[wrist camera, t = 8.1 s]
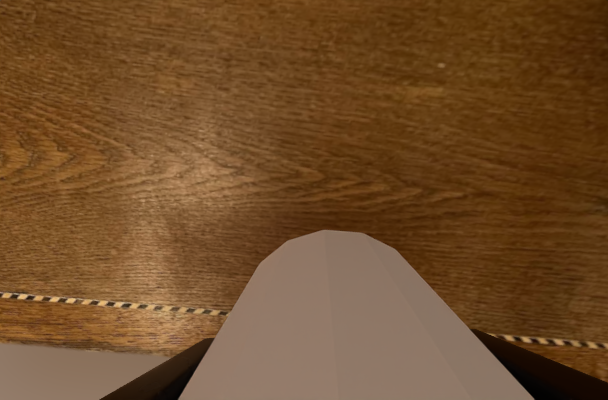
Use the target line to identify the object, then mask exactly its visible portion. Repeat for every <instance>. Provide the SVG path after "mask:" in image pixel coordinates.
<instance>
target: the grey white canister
mask: <svg viewBox="0 0 608 400" xmlns="http://www.w3.org/2000/svg"><path fill="white" fill-rule="evenodd" d="M178 400H535V399H534V398H533V397H532V396H531V395H530V394H529V393H528V392H527V391H526V390H525V389H524V387H523V386H522V385H521V384H520V383H519V382H518V381H517V380H516V379H515V378H514V377H513V376H512V375H511V373H510V372H509V371H508V370H507V369H506V368H505V367H504V366H503V365H502V364H501V363H500V362H499V360H498V359H497V358H496V357H495V356H494V355H493V354H492V353H491V352H490V351H489V350H488V349H487V348H486V346H485V345H484V344H483V343H482V342H481V341H480V340H479V339H478V338H477V337H476V336H475V335H474V334H473V332H472V331H471V330H470V329H469V328H468V327H467V326H466V325H465V324H464V323H463V322H462V321H461V319H460V318H459V317H458V316H457V315H456V314H455V313H454V312H453V311H452V310H451V309H450V308H449V307H448V305H447V304H446V303H445V302H444V301H443V300H442V299H441V298H440V297H439V296H438V295H437V294H436V293H435V291H434V290H433V289H432V288H431V287H430V286H429V285H428V284H427V283H426V282H425V281H424V280H423V279H422V277H421V276H420V275H419V274H418V273H417V272H416V271H415V270H414V269H413V268H412V267H411V266H410V264H409V263H408V262H407V261H406V260H405V259H404V258H403V257H402V256H401V255H400V254H399V253H398V252H397V250H396V249H394V248H392V247H390V246H388V245H386V244H384V243H382V242H380V241H378V240H376V239H374V238H372V237H370V236H368V235H366V234H364V233H359V232H346V231H333V230H321V231H318V232H315V233H311V234H308V235H305V236H301V237H298V238H295V239H291V240H288V241H287V242H285V243H284V244H283V245H282V246H280V247H279V248H278V249H277V250H275V251H274V252H273V253H272V254H270V255H269V256H268V257H267V258H265V259H264V260H263V261H262V262H260V264H259V265H258V267H257V269H256V270H255V272H254V274H253V275H252V277H251V279H250V280H249V282H248V284H247V286H246V287H245V289H244V291H243V292H242V294H241V296H240V297H239V299H238V301H237V302H236V304H235V306H234V307H233V309H232V311H231V312H230V314H229V316H228V317H227V319H226V321H225V322H224V324H223V326H222V327H221V329H220V331H219V332H218V334H217V336H216V337H215V339H214V341H213V342H212V344H211V346H210V347H209V349H208V351H207V352H206V354H205V356H204V357H203V359H202V361H201V362H200V364H199V366H198V367H197V369H196V371H195V372H194V374H193V376H192V377H191V379H190V381H189V382H188V384H187V386H186V387H185V389H184V391H183V392H182V394H181V396H180V397H179V399H178Z"/></svg>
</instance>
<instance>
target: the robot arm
mask: <svg viewBox="0 0 608 400" xmlns="http://www.w3.org/2000/svg"><path fill="white" fill-rule="evenodd" d="M470 330H471V331H472V332H473V334H474V335H475V336H476V337H477V338H478V339H479V340H480V341H481V342H482V343H483V344H484V345H485V346H486V348H487V349H488V350H489V351H490V352H491V353H492V354H493V355H494V356H495V357H496V358H497V359H498V360H499V362H500V363H501V364H502V365H503V366H504V367H505V368H506V369H507V370H508V371H509V372H510V373H511V375H512V376H513V377H514V378H515V379H516V380H517V381H518V382H519V383H520V384H521V385H522V386H523V387H524V389H525V390H526V391H527V392H528V393H529V394H530V395H531V396H532V397H533V398H534V399H535V400H608V383H607V382H605V381H602V380H600V379H597V378H595V377H592V376H590V375H587V374H585V373H583V372H580V371H578V370H575V369H573V368H570V367H568V366H565V365H563V364H560V363H558V362H555V361H553V360H550V359H548V358H546V357H543V356H541V355H538V354H536V353H533V352H531V351H528V350H526V349H523V348H521V347H518V346H516V345H513V344H511V343H509V342H506V341H504V340H501V339H499V338H496V337H494V336H491V335H489V334H486V333H484V332H481V331H479V330H476V329H470ZM214 339H215V338H206V339H204V340H202V341H200V342H199V343H197V344H195V345H193V346H192V347H190V348H188V349H186V350H185V351H183V352H181V353H180V354H178V355H176V356H174V357H173V358H171V359H169V360H168V361H166V362H164V363H162V364H160V365H159V366H157V367H155V368H153V369H152V370H150V371H148V372H147V373H145V374H143V375H141V376H140V377H138V378H136V379H134V380H133V381H131V382H129V383H127V384H126V385H124V386H122V387H120V388H119V389H117V390H116V391H114V392H112V393H110V394H108V395H107V396H105V397H103V398H101V399H100V400H178V399H179V397H180V396H181V394H182V392H183V391H184V389H185V387H186V386H187V384H188V382H189V381H190V379H191V377H192V376H193V374H194V372H195V371H196V369H197V367H198V366H199V364H200V362H201V361H202V359H203V357H204V356H205V354H206V352H207V351H208V349H209V347H210V346H211V344H212V342H213V341H214Z"/></svg>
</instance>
